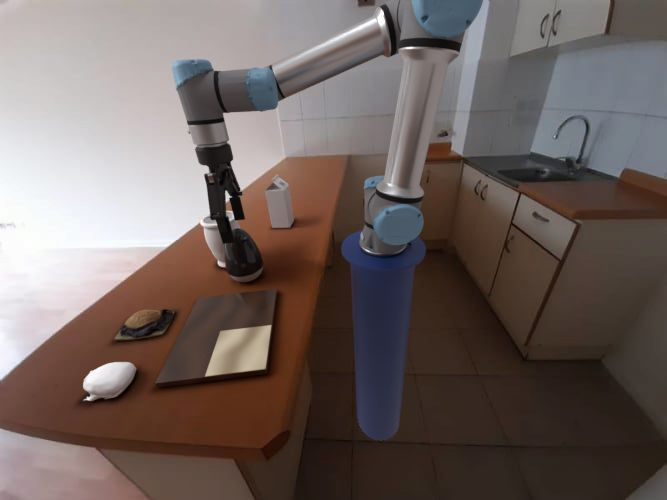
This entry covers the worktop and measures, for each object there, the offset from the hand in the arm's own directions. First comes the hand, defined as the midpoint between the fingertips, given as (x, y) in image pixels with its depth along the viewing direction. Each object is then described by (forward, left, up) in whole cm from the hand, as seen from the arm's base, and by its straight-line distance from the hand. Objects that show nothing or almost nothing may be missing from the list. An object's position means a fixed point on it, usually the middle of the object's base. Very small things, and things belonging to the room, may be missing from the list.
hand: (234, 230), depth 72 cm
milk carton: (-8, -34, -15) cm, 38 cm away
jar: (+7, -10, -15) cm, 19 cm away
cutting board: (+1, +21, -15) cm, 26 cm away
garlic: (+20, +31, -15) cm, 40 cm away
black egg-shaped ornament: (0, 0, -15) cm, 15 cm away
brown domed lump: (+21, +16, -15) cm, 30 cm away
